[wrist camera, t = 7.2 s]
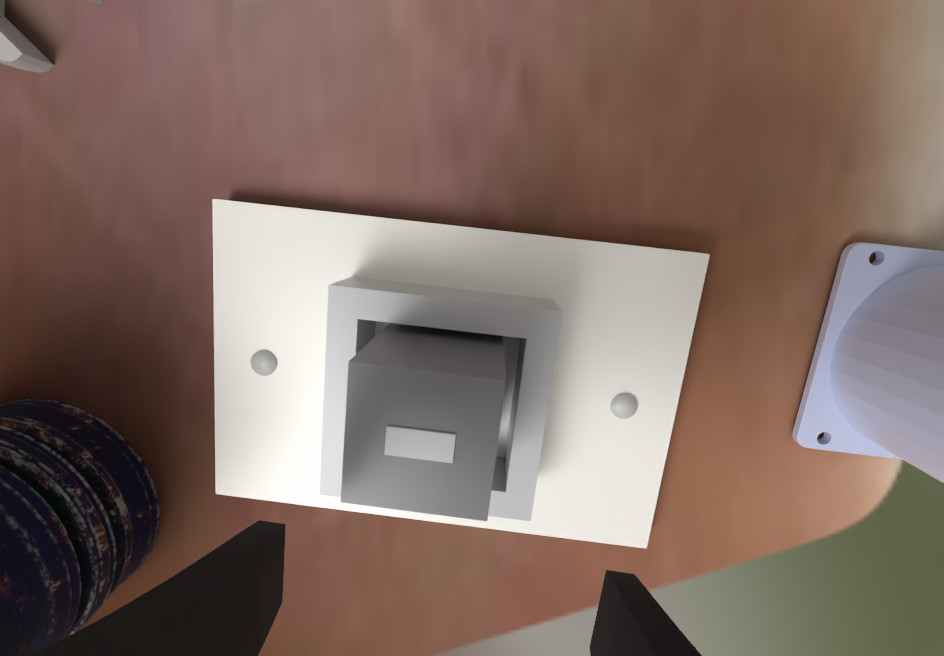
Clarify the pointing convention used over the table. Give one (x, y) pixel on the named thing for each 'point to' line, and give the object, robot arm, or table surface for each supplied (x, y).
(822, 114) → the table surface
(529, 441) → the outlet plate
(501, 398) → the block
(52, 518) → the dark blue barrel
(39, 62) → the adjustable wrench
